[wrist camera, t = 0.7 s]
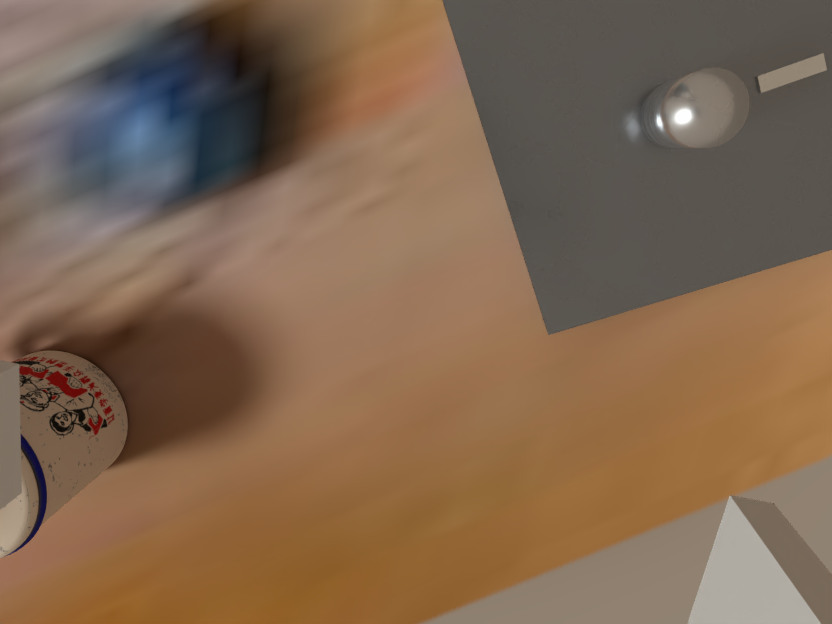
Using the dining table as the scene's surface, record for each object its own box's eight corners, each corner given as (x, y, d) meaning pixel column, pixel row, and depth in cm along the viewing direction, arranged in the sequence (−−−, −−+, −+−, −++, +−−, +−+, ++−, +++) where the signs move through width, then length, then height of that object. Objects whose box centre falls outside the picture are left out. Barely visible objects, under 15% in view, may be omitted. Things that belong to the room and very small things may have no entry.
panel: (443, 2, 32) (434, -30, 26) (818, -151, 29) (902, -225, 23) (546, 329, 36) (559, 365, 30) (888, 226, 32) (977, 243, 27)
